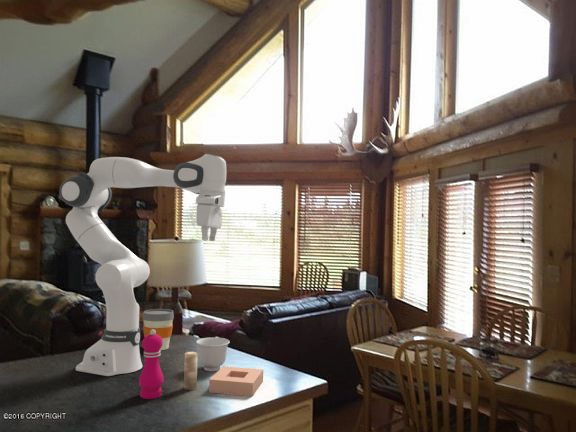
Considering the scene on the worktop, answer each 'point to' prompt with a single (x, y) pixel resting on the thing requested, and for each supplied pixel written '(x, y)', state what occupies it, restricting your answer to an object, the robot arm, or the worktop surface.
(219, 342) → the teacup
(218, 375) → the socket block
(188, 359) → the maple pin
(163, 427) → the worktop surface
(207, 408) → the worktop surface
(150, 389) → the pepper mill
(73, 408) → the worktop surface
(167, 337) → the reusable coffee cup
